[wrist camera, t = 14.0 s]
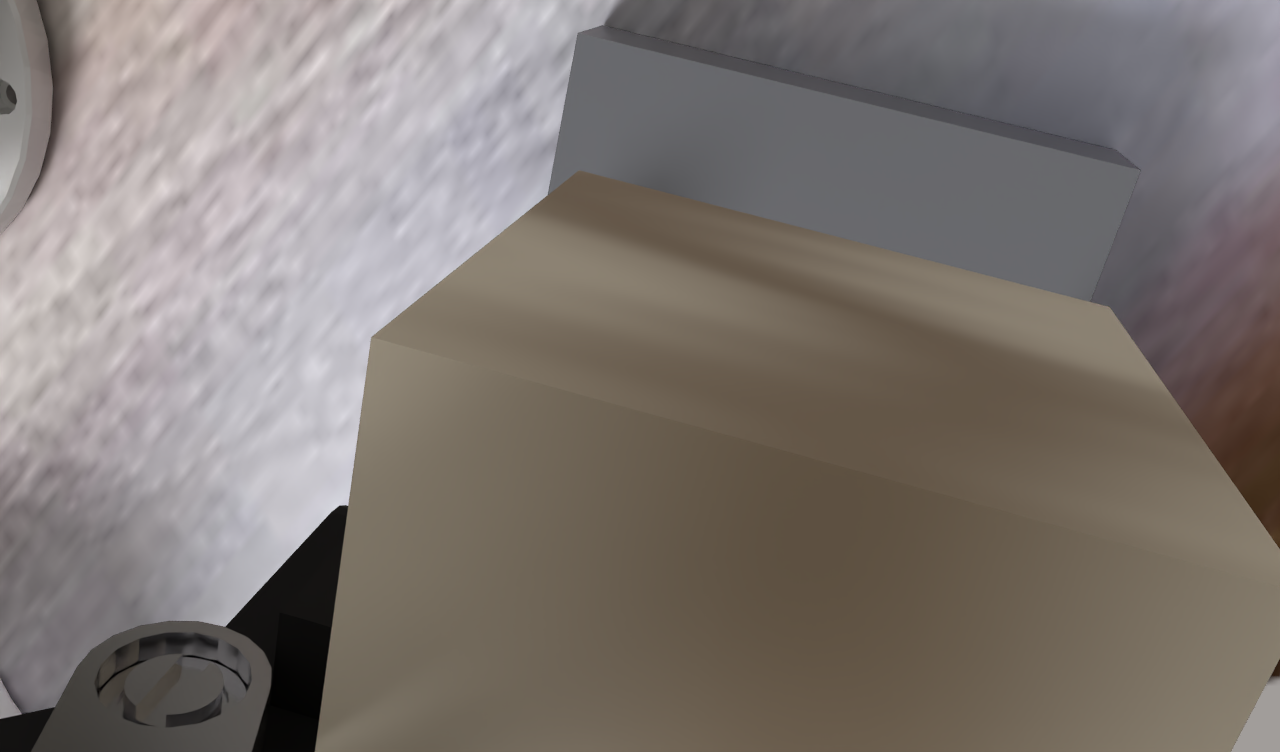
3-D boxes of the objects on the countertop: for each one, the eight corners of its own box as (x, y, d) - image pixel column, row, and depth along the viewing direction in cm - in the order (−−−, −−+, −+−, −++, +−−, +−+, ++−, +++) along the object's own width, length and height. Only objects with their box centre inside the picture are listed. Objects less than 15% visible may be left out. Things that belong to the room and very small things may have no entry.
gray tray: (844, 875, 34) (841, 1037, 29) (461, 757, 35) (393, 894, 30) (1116, 150, 26) (1178, 200, 21) (602, 25, 27) (541, 44, 22)
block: (491, 610, 13) (283, 988, 8) (578, 170, 11) (370, 336, 6) (937, 740, 12) (986, 1220, 8) (1109, 307, 10) (1313, 595, 6)
